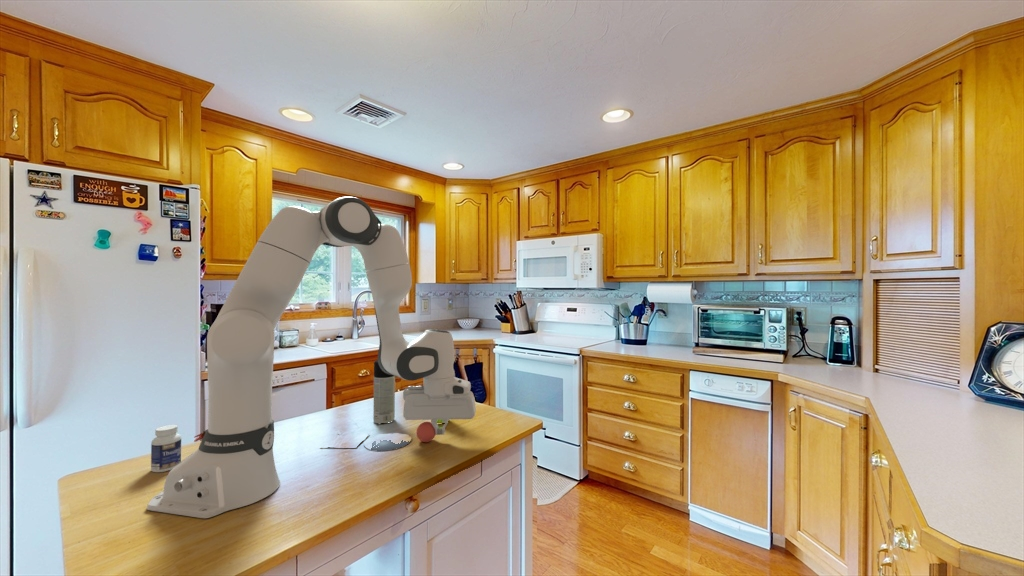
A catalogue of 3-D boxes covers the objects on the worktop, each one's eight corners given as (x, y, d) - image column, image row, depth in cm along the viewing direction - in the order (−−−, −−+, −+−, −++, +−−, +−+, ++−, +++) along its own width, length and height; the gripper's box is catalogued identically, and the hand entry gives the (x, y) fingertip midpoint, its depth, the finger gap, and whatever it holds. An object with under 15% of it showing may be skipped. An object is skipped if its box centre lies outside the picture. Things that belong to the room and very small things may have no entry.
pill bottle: (163, 474, 89) (163, 432, 89) (144, 472, 90) (145, 430, 90) (186, 464, 95) (187, 424, 95) (169, 462, 96) (169, 422, 96)
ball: (431, 447, 106) (411, 441, 106) (434, 441, 112) (416, 435, 112) (436, 427, 107) (417, 422, 107) (439, 422, 112) (421, 417, 112)
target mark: (355, 450, 103) (355, 450, 103) (373, 432, 116) (373, 432, 116) (404, 451, 102) (404, 450, 102) (416, 433, 115) (416, 432, 115)
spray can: (397, 418, 129) (398, 358, 129) (389, 425, 122) (389, 362, 122) (378, 417, 130) (379, 358, 130) (369, 424, 123) (369, 361, 123)
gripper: (399, 389, 106) (400, 438, 106) (473, 388, 106) (474, 438, 106) (406, 383, 112) (407, 430, 112) (475, 382, 112) (476, 429, 112)
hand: (440, 434), depth 109 cm, fingers closed
